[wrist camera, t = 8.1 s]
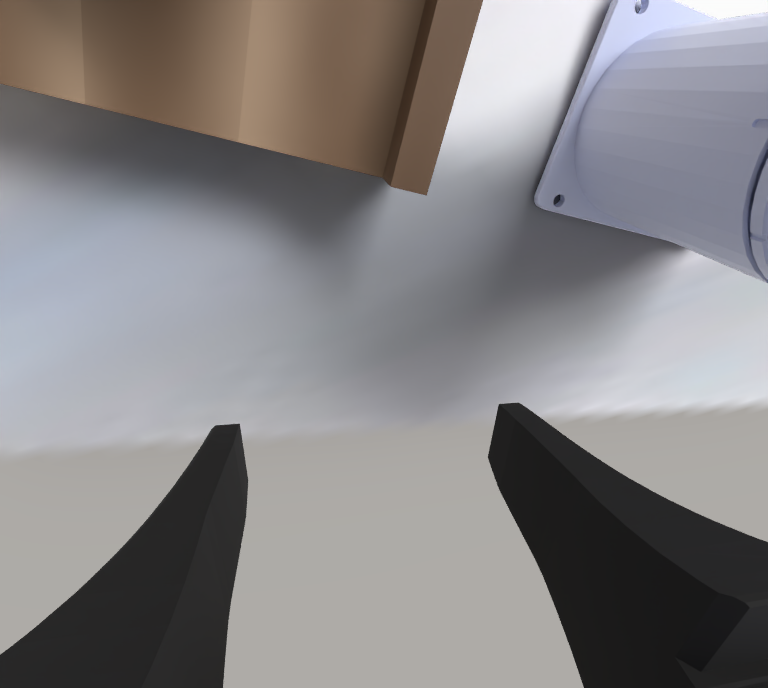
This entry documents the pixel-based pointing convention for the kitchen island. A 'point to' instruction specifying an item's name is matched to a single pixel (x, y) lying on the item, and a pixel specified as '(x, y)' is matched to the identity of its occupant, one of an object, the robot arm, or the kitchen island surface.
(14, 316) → the kitchen island surface
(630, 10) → the robot arm
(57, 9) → the block
